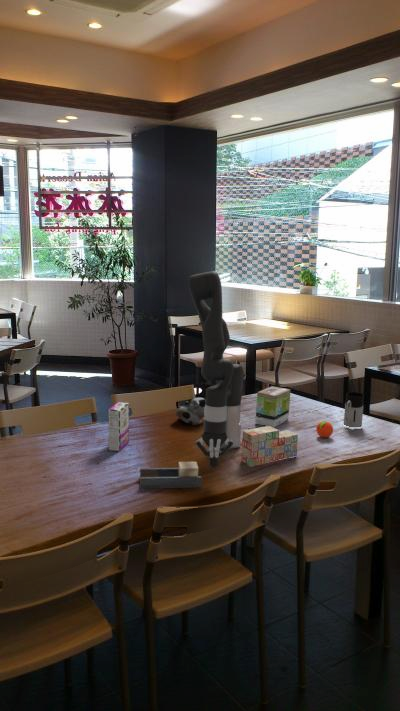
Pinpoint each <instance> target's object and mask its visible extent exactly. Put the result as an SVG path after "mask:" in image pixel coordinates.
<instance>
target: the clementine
mask: <svg viewBox="0 0 400 711" xmlns="http://www.w3.org/2000/svg"><path fill="white" fill-rule="evenodd" d="M333 433H334V427H333V425H332V424H331V423H330V422H329V421H327V420H322V421H320V422H319V423H318V424H317V425H316V434H317V436H319V437H320V436H321V438H323V437H327V438H329V437H331V436H332V435H333Z"/></svg>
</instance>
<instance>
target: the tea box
mask: <svg viewBox="0 0 400 711" xmlns="http://www.w3.org/2000/svg"><path fill="white" fill-rule="evenodd" d="M256 393H257V394H256V395H257V396H256V408H255V420H254V422H255V425H256V424H257V425H261V426H264V425H265V426H264V427H266V426H271V427H273V428H276V427H277V426H279V425H281V424H282V423H285V422H287V421H288V420H289V414H290V404H291V403H290V402H291V388H290V389H289V388H283V387H279V386H278V387H277V386H269V387H266V388H264V389H262V390H260V391H257V392H256ZM287 419H288V420H287ZM286 420H287V421H286ZM284 421H285V422H284Z"/></svg>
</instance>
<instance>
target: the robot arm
mask: <svg viewBox="0 0 400 711" xmlns="http://www.w3.org/2000/svg"><path fill="white" fill-rule="evenodd" d="M187 281H188V282H187V285H188V290H189V294H190V297H191V299H192V301H193V304H194V306H195V310H196V313H197V315H198V318H199V323H200V327H201V331H202V332H201V333H202V341H203V357H202V363H201V368H200V369H201V370H200V373H201V376H202V377H203V379H204V380H206V381H215V383H216V384H215V385H211V386H209V387H207V388H206V389H205V399H206V400H205V410H204V417H203V432H202V434H201V437H200V438H199V439H196V440H195V444H196V446H197V447H198V448H199V449H200V451H201V452H202V453H203V455H204V456H205V457H208V464H209V467H210V468H211V469H216V468H217V467H218V465H219V457H223V456H224V455H225V454H226V453H227V452H228V450H232V449H236V448H241V434H242V424H241V409H242V408H241V406H242V397H243V387H244V381H245V380H244V378H245V373H244V367H243V366H242V365H241V364H237V363H233V361H232V360H231V359H229V358H224V356H223V355H224V353H225V351H226V350H227V348H228V345H229V343H230V339H231V338H230V333H229V328H228V324H227V321H225V319H224V318H223V288H222V282H221V278H220V274H219V273H218V272H217V271H215V270H212V271H206V272H201V273H200V272H199V273H196V274H193V275H192V274H191V275H190V276H189V277H188V279H187ZM210 299H212V304H211V307H209V305H207V303H206V301H205V300H210ZM229 388H230V390H229ZM228 390H229V392H228ZM204 443H205V444H206V446H207V447H208V450H207V449H206V447H205V446H204Z"/></svg>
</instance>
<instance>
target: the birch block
mask: <svg viewBox="0 0 400 711" xmlns="http://www.w3.org/2000/svg"><path fill="white" fill-rule="evenodd" d="M178 468H179V477H191V476H198V468H199V466H198V462H197V461H178Z"/></svg>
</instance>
